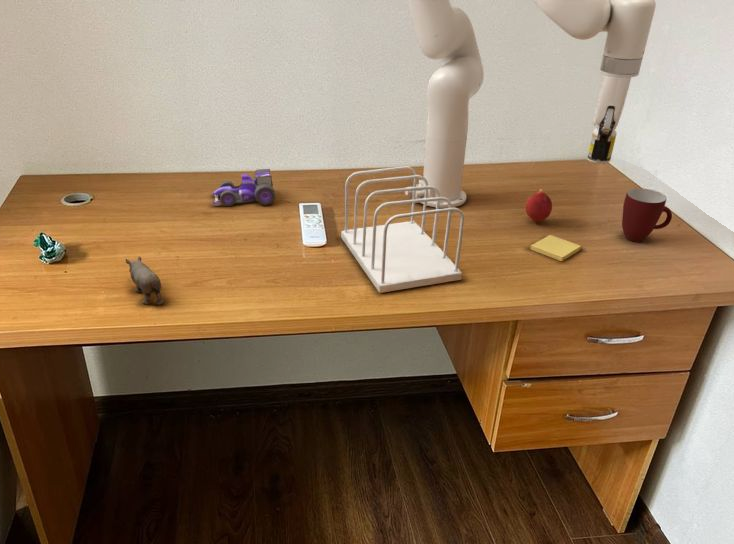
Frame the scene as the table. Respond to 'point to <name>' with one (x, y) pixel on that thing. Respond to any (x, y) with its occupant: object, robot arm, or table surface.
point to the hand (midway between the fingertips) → (599, 154)
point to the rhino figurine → (145, 280)
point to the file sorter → (401, 240)
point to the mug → (643, 213)
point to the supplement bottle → (594, 136)
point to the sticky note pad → (555, 247)
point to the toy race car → (247, 190)
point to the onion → (539, 206)
